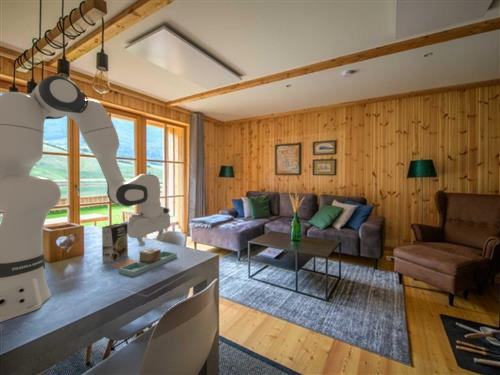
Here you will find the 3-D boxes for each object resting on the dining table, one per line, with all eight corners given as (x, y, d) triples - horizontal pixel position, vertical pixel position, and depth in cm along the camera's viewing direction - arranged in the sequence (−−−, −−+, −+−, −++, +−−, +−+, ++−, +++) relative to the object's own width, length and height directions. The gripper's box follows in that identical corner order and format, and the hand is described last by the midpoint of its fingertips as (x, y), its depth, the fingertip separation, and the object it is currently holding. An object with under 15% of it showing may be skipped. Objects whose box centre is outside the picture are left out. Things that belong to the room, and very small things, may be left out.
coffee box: (114, 263, 106) (113, 227, 105) (101, 262, 107) (101, 226, 106) (128, 256, 114) (128, 223, 114) (117, 255, 116) (116, 222, 115)
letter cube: (150, 267, 99) (149, 253, 99) (139, 265, 101) (139, 251, 101) (160, 263, 104) (160, 249, 104) (150, 261, 107) (150, 247, 107)
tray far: (164, 263, 105) (164, 258, 105) (150, 261, 108) (150, 256, 108) (176, 258, 112) (176, 253, 112) (163, 255, 116) (163, 251, 115)
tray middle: (149, 270, 98) (149, 264, 98) (136, 267, 101) (136, 261, 101) (164, 263, 105) (164, 258, 105) (150, 261, 108) (150, 256, 108)
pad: (125, 270, 97) (125, 268, 97) (111, 267, 101) (111, 265, 101) (143, 263, 105) (143, 261, 105) (129, 260, 109) (129, 258, 109)
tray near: (133, 277, 90) (133, 271, 90) (119, 274, 94) (118, 268, 94) (149, 270, 98) (149, 264, 98) (136, 267, 101) (136, 261, 101)
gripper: (134, 216, 91) (136, 251, 92) (172, 208, 110) (172, 237, 111) (123, 214, 94) (124, 248, 95) (161, 207, 113) (162, 236, 114)
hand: (151, 242), depth 103 cm, fingers open, 8 cm apart
